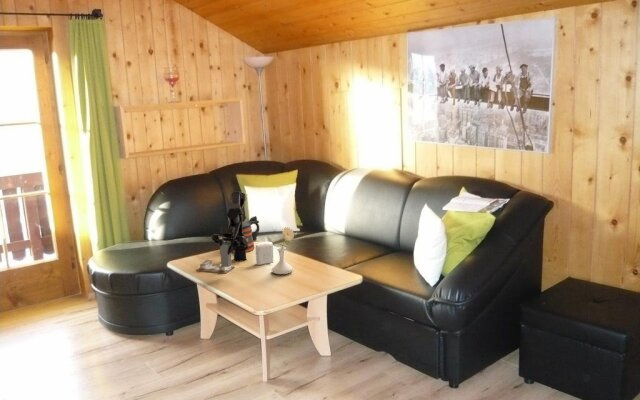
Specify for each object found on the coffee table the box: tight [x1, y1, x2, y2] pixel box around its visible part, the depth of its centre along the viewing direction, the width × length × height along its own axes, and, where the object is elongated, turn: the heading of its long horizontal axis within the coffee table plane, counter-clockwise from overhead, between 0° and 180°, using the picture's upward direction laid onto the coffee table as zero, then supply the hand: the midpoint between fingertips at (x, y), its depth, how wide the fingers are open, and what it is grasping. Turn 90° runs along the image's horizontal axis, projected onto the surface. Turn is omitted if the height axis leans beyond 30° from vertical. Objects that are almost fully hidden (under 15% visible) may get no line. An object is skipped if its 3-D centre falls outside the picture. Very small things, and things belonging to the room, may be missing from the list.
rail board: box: [196, 259, 235, 275], centre depth 328 cm, size 18×10×4 cm, turn 70°
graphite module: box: [219, 243, 233, 267], centre depth 312 cm, size 4×4×11 cm
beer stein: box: [229, 215, 260, 253], centre depth 364 cm, size 19×15×20 cm
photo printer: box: [255, 241, 274, 266], centre depth 336 cm, size 10×4×12 cm, turn 123°
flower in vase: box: [271, 226, 295, 275], centre depth 318 cm, size 13×11×25 cm
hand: (224, 253), depth 310 cm, fingers closed on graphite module, 4 cm apart
